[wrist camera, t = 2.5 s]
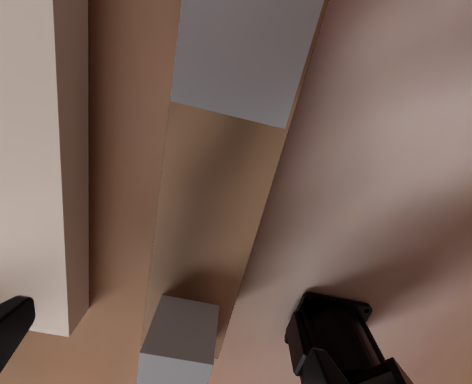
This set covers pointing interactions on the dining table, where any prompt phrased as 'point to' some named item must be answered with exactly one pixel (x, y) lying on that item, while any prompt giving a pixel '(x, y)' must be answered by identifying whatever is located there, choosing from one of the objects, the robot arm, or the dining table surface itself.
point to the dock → (45, 159)
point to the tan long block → (212, 204)
